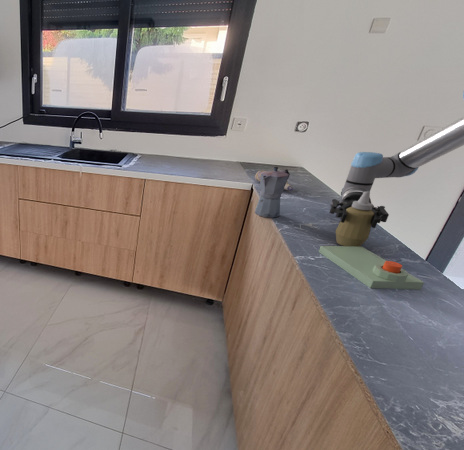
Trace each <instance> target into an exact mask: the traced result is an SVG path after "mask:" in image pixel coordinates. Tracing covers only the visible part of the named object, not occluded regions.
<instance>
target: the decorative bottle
mask: <svg viewBox="0 0 464 450" xmlns="http://www.w3.org/2000/svg"><path fill="white" fill-rule="evenodd" d="M265 171H266V170H263V169H262V170H261V169H260V170H258V171H257V172H256V174H255V175H254V179H255V180H256V181H257V182H259V183H260V178H261V173H263V172H265ZM283 191H294V187H293V186H292V185H291V184H289V181H288V180H287V182H286V184H285V187H284V190H283Z"/></svg>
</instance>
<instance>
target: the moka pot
mask: <svg viewBox="0 0 464 450" xmlns="http://www.w3.org/2000/svg"><path fill="white" fill-rule="evenodd" d="M278 169H279V167H278V166H274V167H273V170H265V172H263V173H261V178H260V182H259V192H260V194H259V198H258V201H257V204H256V207H255V210H254V214H255V215H257V216H259V217H263V218H269V219H270V218H271V219H273V218H277V217H280V216H281V197H282V194H283V193H284V191H285V190H284V187H285V184H286V182H287V181H288V180H289V177H290V175H291V174H290V172H289V169H288V168H286V169H284V170H280V171H279V170H278Z"/></svg>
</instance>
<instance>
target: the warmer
mask: <svg viewBox="0 0 464 450" xmlns="http://www.w3.org/2000/svg"><path fill="white" fill-rule="evenodd" d="M318 253H319V254H321V255H322V256H323V257H325V258H327V259H328V260H330V261H331V262H332V263H334V264H335V265H336V266H338V267H339V268H341V269H342V270H344V271H345V272H346V273H348V274H349V275H351V276H352V277H353V278H355V279H356V280H358V281H359V282H361V283H362V284H364V285H365V286H366V287H368V288H369V289H386V290H387V289H392V290H422V288H423V286H424V285H425V281H423V280H421V279H419V278H418V277H415V276H414V275H413V274H411V273H409V272H408V271H407V270H405V269H403V268H401V270H400V273H392V272H388V271H385V270H384V269H382V268H383V265H384V263H385V261H387V260H386V259H385V258H383V257H380V256H379V255H377V254H375V253H374V252H372V251H370V250H368V249H367V248H365V247H363V246H360V247H353V246H342V245H320V247H319V250H318Z"/></svg>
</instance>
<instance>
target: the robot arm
mask: <svg viewBox="0 0 464 450" xmlns="http://www.w3.org/2000/svg"><path fill="white" fill-rule="evenodd" d="M462 99H463V100H464V91H463V92H462ZM463 146H464V116H462V117H460V118H458V119H457V120H454V121H453V122H451V123H449V124H448V125H446V126H444V127H442V128H441V129H439V130H437V131H435V132H433V133H431V134H429V135H428V136H426V137H424V138H422V139H421V140H419V141H417V142H415V143H414V144H412V145H410V146H408V147H406V148H404V149H403V150H401V151H400V152H398V153H395V154H394V155H392V156H384V155H383V154H382V153H380V152H373V151H360V152H357V153H355V155H354V157H353V160H352V161H351V163H350V168H349V170H348V174H347V177H346V180H345V182H344V186H343V188H342V189H341V191H340V197H341V201H340V200H338V199H334V198H333V199H331V203H330V209H329V214H330V215H333V214H335V218H338V219H339V218H340V221H341V222H342V223H344V221H345V219H346V216H347V211H346V209H347V208H349V207H352V204H353V202H354V201H358V200H359V199H360V198H361V196H362V195H363V193H364V192H365V191H368V192H370V193H371V190H372V188H373V185H374V182H375V179H388V178H404V177H409V176H412V175H413V174H415V173H416V172H417V171H418V170H419V168H420V167H422V166H424V165H426V164H428V163H430V162H431V161H434V160H436V159H438V158H440V157H442V156H445V155H447V154H448V153H451V152H453V151H455V150H457V149H459V148H461V147H463ZM369 203H372V200H371V196H370V197H369ZM371 211H373V212H374V215H373V218H372V221H371V229H376V227H377V224H381V222H382V223H386V222H387V221H388V218H389V215H390V214H389V213H388V212H387V210H386V206H384V205H379V206H378V205H377V206H375V205H374V204H373V207H372V209H371Z"/></svg>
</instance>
